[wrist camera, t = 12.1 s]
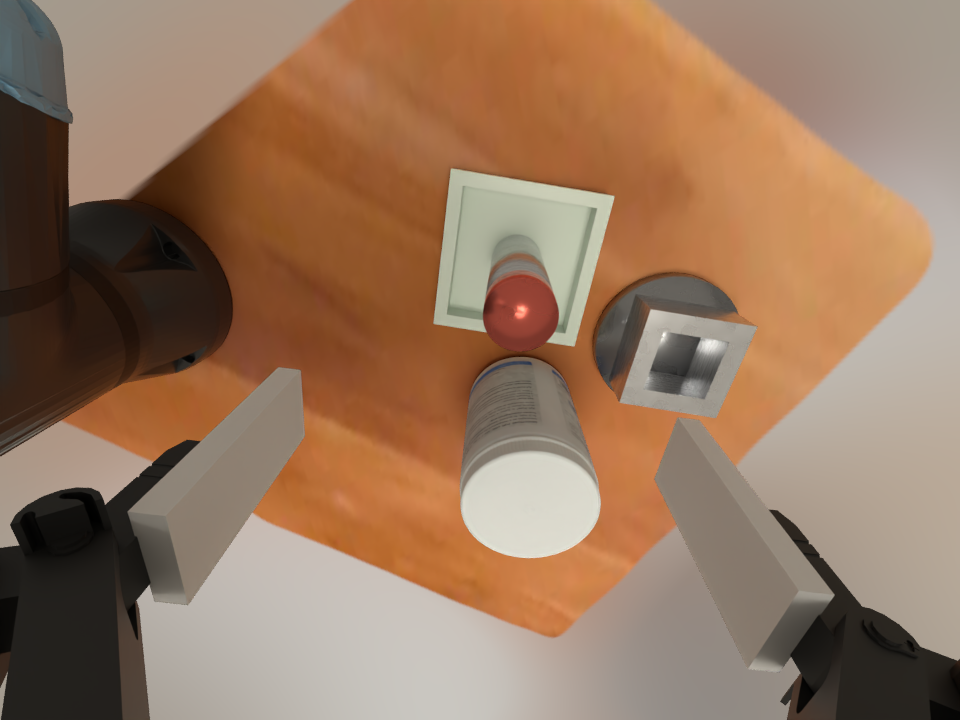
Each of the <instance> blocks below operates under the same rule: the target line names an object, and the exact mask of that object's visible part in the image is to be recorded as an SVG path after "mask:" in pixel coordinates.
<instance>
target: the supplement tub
mask: <svg viewBox="0 0 960 720" xmlns="http://www.w3.org/2000/svg"><path fill="white" fill-rule="evenodd" d="M460 497H461V513H462V517H463V520H464V522H465V525H466V526H467V528H468V530H469V531H470V532H471V534H472V535H473V536H474V537H475V538H476V539H477V540H478V541H479V542H481V543H482V544H484V545H485V546H487V547H488V548H490V549H492V550H494V551H496V552H499V553H502V554H505V555H508V556H513V557H520V558H538V557H546V556H551V555H554V554H558V553H560V552H563V551H565V550H567V549H570V548H571V547H573V546H575V545H576V544H578V543H579V542H580V541H582V540H583V539H584V538H585V537H586V536H587V535H588V534H589V533H590V531H591V530H592V529H593V527H594V525H595V524H596V522H597V519H598V517H599V513H600V506H601V500H600V493H599V485H598V480H597V476H596V473H595V470H594V466H593V463H592V460H591V457H590V453H589V450H588V447H587V444H586V441H585V438H584V435H583V432H582V429H581V426H580V423H579V420H578V417H577V413H576V410H575V407H574V404H573V401H572V398H571V395H570V392H569V389H568V386H567V384H566V382H565V380H564V378H563V377H562V376H561V374H560V373H559V372H558V371H557V370H556V369H555V368H553V367H552V366H551V365H549V364H547V363H545V362H543V361H541V360H538V359H534V358H529V357H512V358H507V359H503V360H500V361H498V362H496V363H493V364H492V365H490V366H489V367H487V368H486V369H485V370H484V371H483V372H482V373H481V374H480V375H479V376H478V377H477V379H476V380H475V382H474V384H473V386H472V389H471V392H470V397H469V405H468V413H467V422H466V432H465V441H464V449H463V458H462V467H461V478H460Z"/></svg>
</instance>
